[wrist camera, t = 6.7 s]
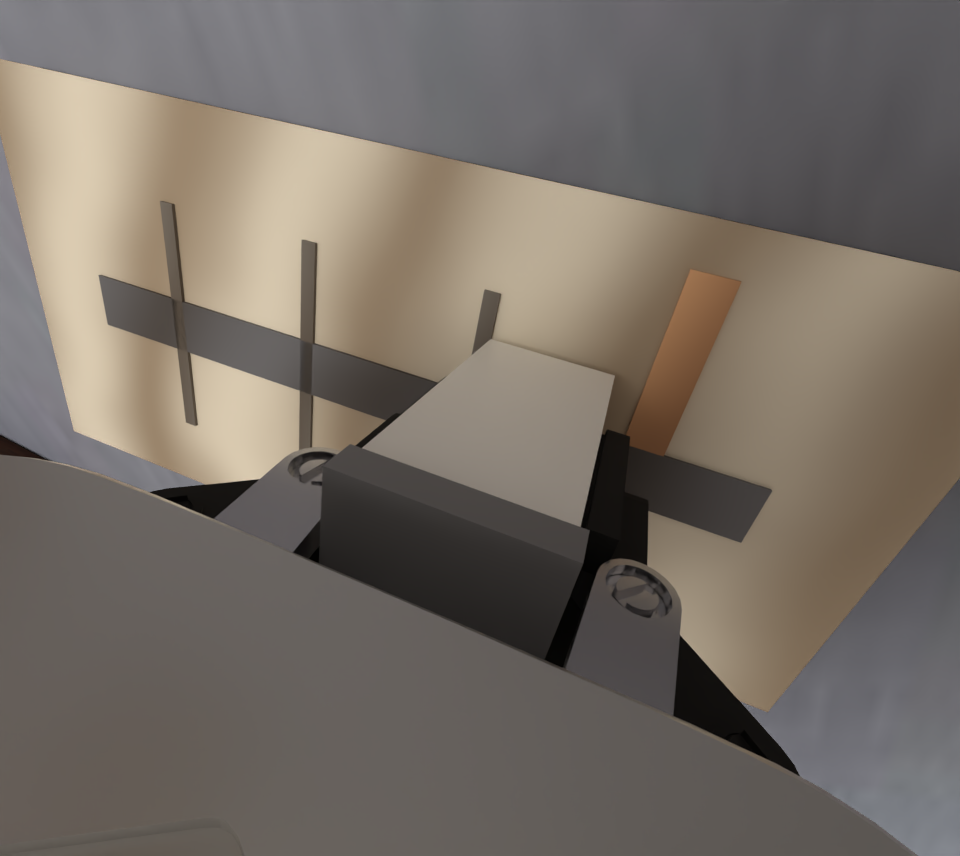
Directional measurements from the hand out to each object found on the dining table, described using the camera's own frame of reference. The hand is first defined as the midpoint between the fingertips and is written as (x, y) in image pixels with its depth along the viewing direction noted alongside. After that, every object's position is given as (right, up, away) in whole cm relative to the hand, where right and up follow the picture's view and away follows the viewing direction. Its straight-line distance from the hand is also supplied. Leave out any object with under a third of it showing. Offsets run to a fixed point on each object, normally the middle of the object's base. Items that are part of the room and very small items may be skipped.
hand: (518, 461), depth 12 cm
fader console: (-3, +2, +3) cm, 5 cm away
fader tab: (0, 0, +1) cm, 1 cm away
